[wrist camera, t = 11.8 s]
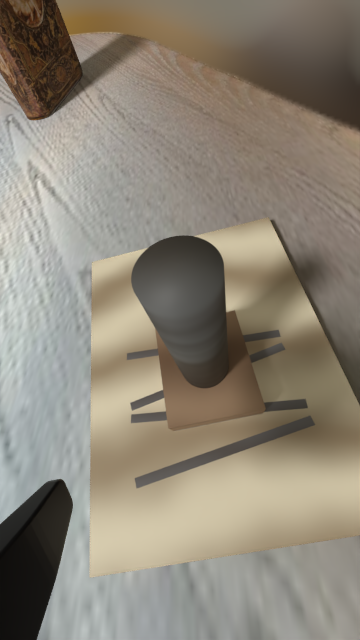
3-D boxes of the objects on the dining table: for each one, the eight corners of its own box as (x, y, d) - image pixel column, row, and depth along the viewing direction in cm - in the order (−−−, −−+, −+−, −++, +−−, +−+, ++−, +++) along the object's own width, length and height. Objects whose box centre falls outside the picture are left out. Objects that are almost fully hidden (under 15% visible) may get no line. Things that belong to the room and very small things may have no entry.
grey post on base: (262, 413, 17) (306, 344, 7) (174, 431, 18) (92, 390, 7) (234, 322, 21) (236, 184, 10) (161, 339, 21) (92, 223, 11)
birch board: (407, 522, 14) (418, 526, 14) (97, 571, 16) (89, 577, 15) (267, 225, 26) (268, 217, 25) (96, 268, 28) (91, 262, 27)
